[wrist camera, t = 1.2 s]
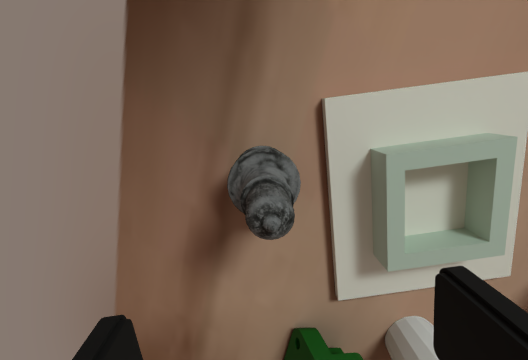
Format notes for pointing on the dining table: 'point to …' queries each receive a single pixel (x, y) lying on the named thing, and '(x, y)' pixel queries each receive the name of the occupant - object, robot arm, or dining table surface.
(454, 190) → the holder
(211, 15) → the dining table surface
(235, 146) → the dining table surface
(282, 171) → the chess piece
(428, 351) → the white cylinder
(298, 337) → the clamp
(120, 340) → the robot arm
